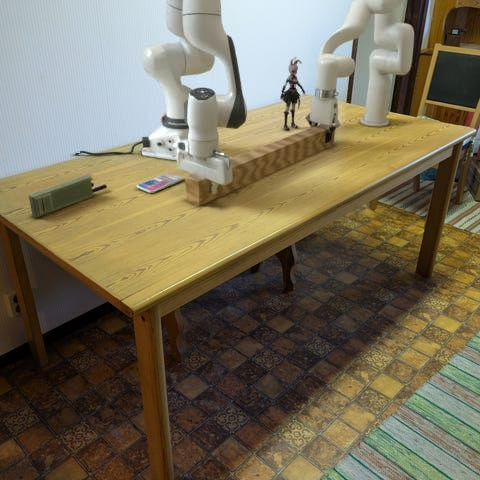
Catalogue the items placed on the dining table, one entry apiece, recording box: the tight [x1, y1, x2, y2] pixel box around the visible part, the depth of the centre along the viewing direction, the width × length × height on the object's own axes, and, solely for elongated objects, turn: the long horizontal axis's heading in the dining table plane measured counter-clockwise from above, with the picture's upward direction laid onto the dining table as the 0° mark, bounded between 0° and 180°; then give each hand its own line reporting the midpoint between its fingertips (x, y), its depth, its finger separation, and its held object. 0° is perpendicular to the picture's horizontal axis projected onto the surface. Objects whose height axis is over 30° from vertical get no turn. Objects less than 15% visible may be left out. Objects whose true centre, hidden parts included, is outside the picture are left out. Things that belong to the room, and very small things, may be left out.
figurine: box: [279, 56, 306, 132], centre depth 211 cm, size 15×6×30 cm, turn 132°
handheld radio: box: [28, 173, 108, 219], centre depth 150 cm, size 7×3×25 cm
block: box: [184, 123, 336, 207], centre depth 175 cm, size 75×6×8 cm, turn 139°
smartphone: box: [136, 172, 184, 194], centre depth 164 cm, size 7×1×15 cm
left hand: (204, 190), depth 154 cm, fingers closed on block, 5 cm apart
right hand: (321, 139), depth 197 cm, fingers closed on block, 5 cm apart
